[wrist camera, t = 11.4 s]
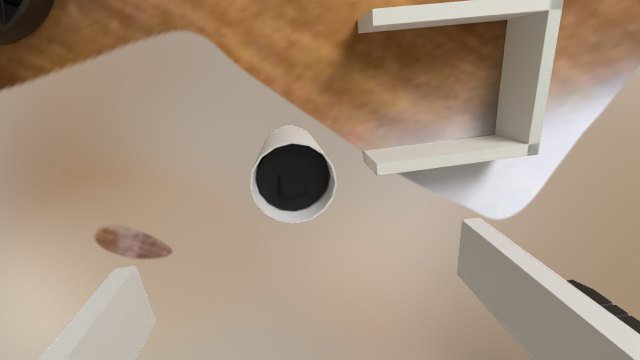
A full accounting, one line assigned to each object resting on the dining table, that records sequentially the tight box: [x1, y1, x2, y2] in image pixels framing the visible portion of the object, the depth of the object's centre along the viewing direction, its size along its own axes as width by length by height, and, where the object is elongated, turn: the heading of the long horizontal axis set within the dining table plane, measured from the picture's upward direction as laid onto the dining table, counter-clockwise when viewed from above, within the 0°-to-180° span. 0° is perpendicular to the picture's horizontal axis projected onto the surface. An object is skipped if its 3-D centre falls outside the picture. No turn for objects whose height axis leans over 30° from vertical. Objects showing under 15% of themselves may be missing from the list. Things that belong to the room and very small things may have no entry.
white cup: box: [250, 125, 337, 224], centre depth 27 cm, size 7×7×10 cm
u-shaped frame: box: [358, 0, 564, 176], centre depth 29 cm, size 14×17×5 cm
